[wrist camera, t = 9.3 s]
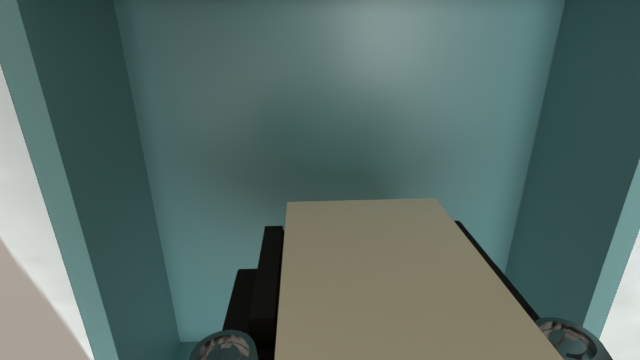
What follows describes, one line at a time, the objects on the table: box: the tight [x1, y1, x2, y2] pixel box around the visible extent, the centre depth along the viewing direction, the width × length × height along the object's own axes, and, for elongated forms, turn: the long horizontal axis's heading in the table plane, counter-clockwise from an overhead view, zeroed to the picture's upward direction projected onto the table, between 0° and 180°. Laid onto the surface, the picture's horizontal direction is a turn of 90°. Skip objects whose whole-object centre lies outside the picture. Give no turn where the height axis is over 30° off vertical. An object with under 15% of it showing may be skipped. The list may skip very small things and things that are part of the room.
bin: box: [0, 0, 640, 360], centre depth 15 cm, size 18×18×6 cm
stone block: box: [274, 198, 564, 360], centre depth 9 cm, size 4×4×6 cm
